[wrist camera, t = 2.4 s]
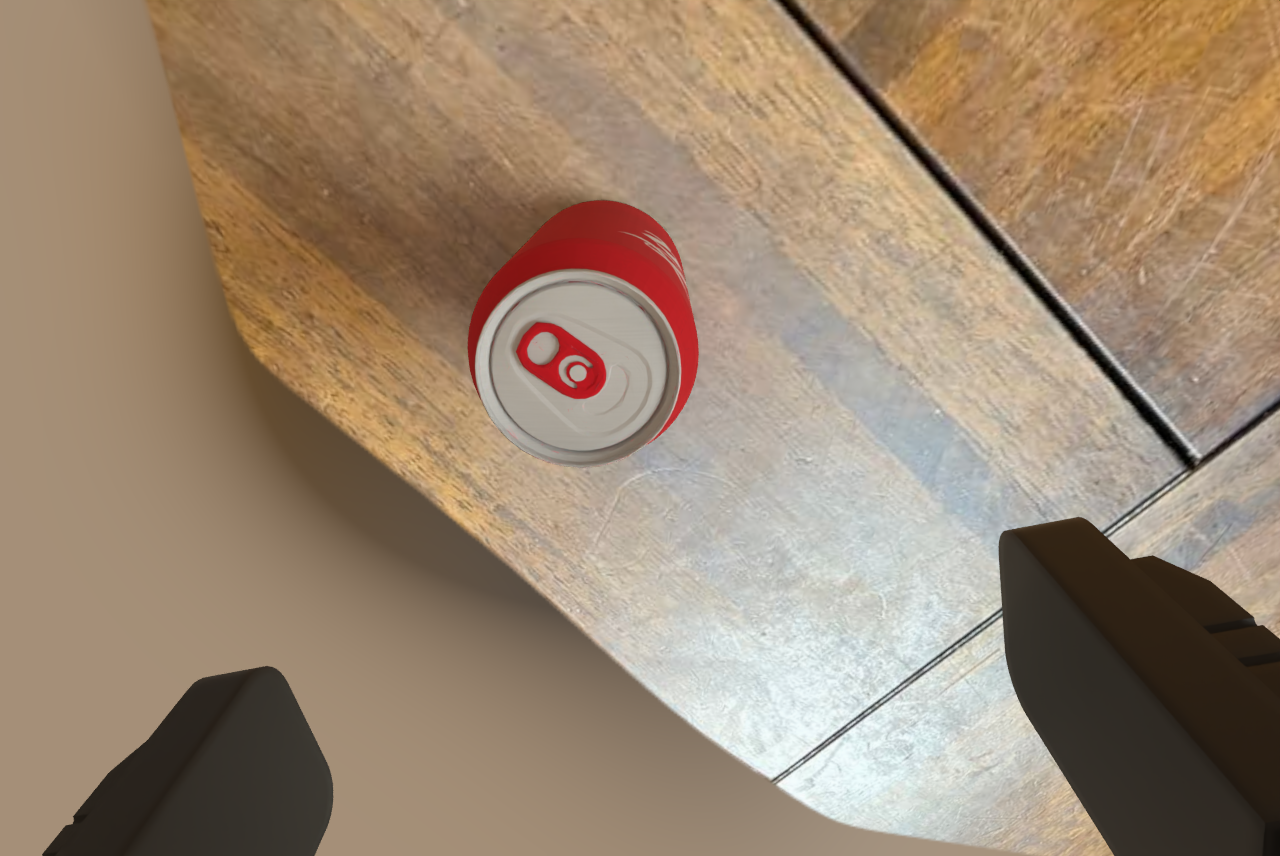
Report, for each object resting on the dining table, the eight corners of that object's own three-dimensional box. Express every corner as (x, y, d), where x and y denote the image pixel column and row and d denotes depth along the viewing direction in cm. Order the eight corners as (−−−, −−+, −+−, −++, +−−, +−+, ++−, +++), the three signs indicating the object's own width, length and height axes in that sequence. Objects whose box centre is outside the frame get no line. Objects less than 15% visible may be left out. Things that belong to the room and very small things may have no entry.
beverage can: (621, 385, 32) (605, 529, 21) (494, 296, 31) (406, 399, 20) (716, 263, 30) (753, 350, 19) (585, 162, 29) (544, 193, 18)
